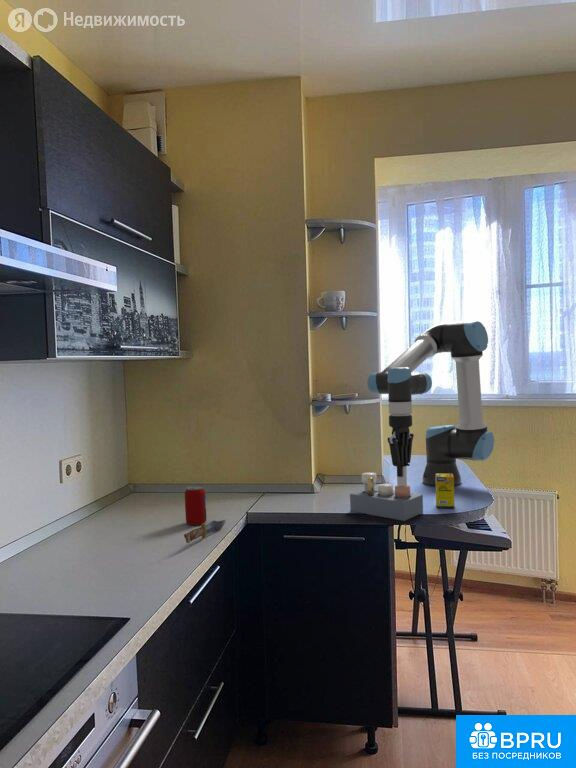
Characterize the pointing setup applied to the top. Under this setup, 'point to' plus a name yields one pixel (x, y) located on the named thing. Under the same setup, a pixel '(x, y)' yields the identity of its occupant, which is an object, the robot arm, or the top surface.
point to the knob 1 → (365, 482)
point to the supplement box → (444, 490)
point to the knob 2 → (385, 489)
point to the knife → (204, 530)
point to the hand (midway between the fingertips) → (402, 485)
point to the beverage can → (195, 505)
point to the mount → (387, 505)
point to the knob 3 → (402, 492)
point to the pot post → (370, 486)
